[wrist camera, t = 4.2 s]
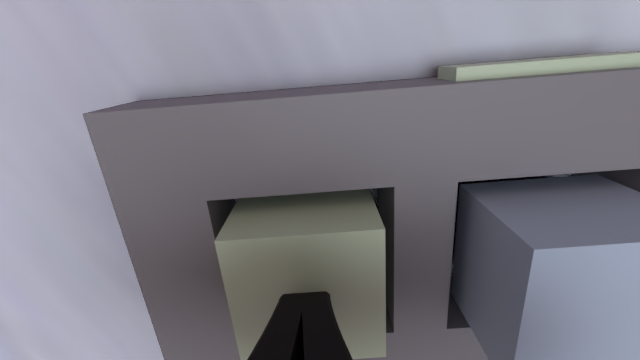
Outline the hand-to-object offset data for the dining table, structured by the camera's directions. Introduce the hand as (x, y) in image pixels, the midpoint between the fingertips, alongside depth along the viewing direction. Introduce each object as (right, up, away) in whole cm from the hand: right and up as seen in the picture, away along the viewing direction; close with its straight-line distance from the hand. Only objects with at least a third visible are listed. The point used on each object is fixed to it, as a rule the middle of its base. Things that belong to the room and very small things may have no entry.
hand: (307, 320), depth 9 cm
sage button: (0, +2, +5) cm, 5 cm away
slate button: (+8, +2, +3) cm, 9 cm away
